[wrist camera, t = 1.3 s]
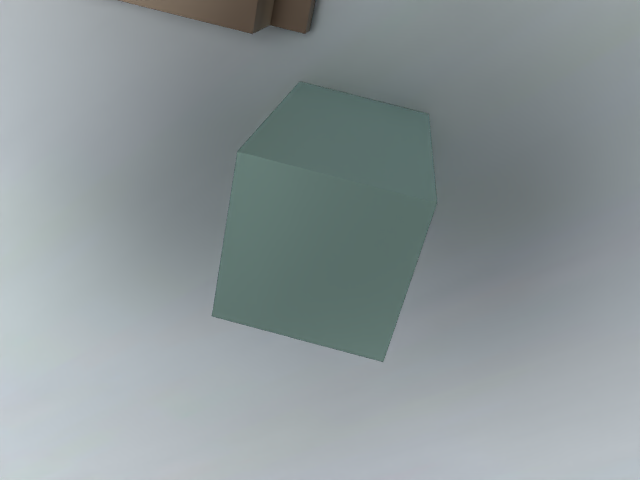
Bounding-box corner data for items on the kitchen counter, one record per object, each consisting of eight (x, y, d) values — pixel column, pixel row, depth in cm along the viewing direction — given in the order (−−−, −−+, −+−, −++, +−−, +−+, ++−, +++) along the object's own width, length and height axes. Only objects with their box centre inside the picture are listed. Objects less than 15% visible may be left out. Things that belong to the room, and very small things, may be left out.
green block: (428, 114, 17) (437, 202, 11) (393, 230, 19) (383, 362, 13) (300, 81, 18) (237, 151, 11) (276, 200, 19) (211, 316, 13)
